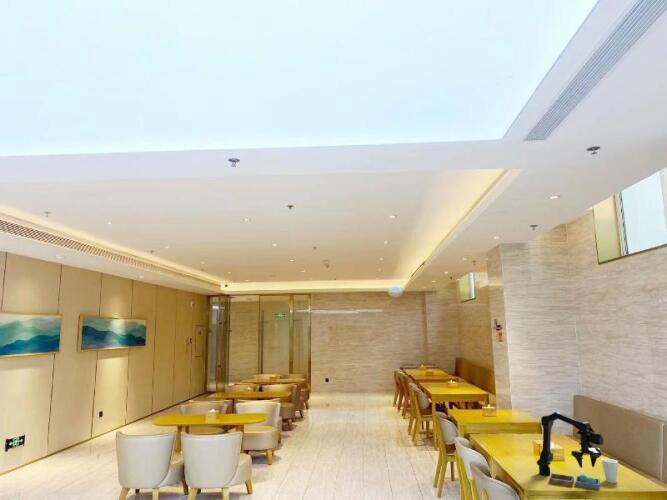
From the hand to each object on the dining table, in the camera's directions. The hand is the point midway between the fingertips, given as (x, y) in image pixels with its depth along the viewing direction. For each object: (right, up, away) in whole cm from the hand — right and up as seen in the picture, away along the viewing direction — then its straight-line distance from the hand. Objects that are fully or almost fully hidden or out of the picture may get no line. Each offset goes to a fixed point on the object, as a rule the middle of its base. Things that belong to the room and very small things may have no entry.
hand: (587, 467), depth 300 cm
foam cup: (+20, -13, +7) cm, 24 cm away
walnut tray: (-14, -12, +5) cm, 19 cm away
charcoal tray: (0, -11, -1) cm, 11 cm away
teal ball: (+1, -8, -4) cm, 8 cm away
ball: (-1, -9, +3) cm, 9 cm away
